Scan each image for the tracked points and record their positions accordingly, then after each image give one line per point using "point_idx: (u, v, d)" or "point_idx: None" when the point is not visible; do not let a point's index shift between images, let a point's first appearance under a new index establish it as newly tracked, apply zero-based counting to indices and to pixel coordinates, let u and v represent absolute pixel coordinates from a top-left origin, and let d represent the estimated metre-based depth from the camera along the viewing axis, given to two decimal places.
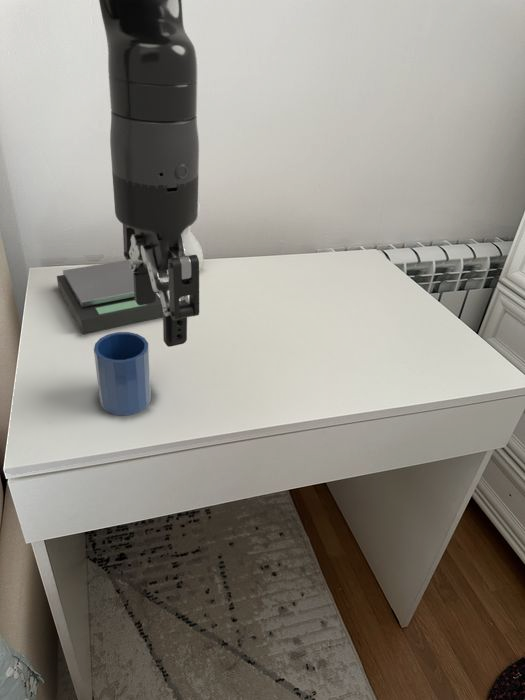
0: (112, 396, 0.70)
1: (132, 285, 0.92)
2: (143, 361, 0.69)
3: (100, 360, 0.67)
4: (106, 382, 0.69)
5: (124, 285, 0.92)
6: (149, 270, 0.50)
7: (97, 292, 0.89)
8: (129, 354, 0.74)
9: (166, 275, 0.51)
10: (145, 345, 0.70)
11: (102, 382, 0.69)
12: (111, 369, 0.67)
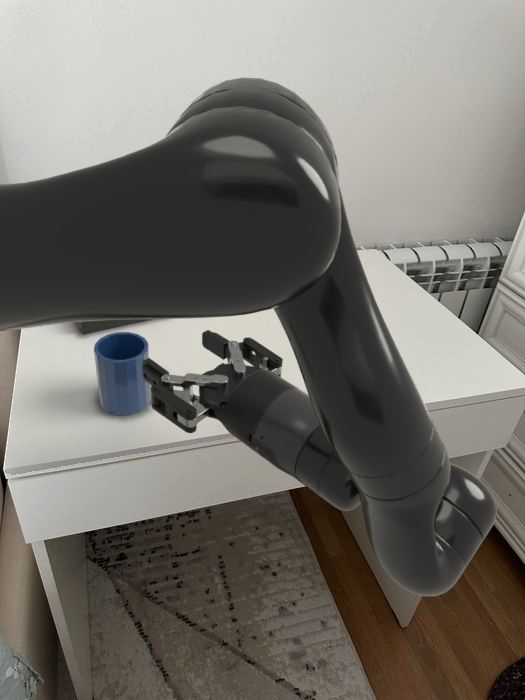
0: (112, 396, 0.70)
1: None
2: None
3: (100, 360, 0.67)
4: (106, 382, 0.69)
5: None
6: (205, 377, 0.54)
7: None
8: (129, 354, 0.74)
9: None
10: (145, 345, 0.70)
11: (102, 382, 0.69)
12: (111, 369, 0.67)
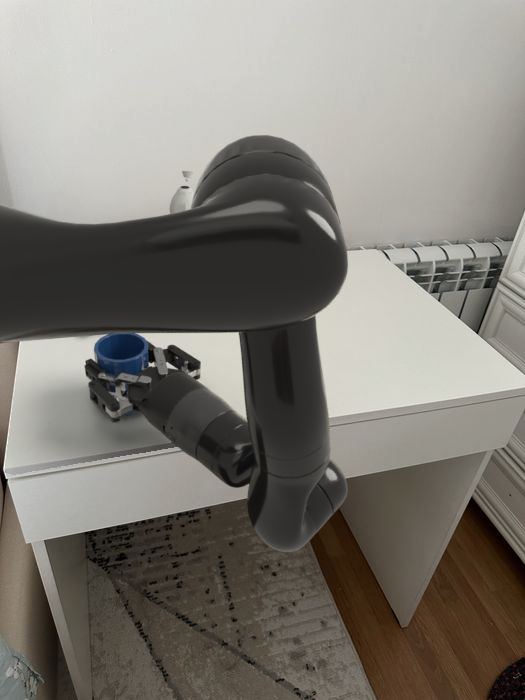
0: None
1: None
2: (143, 361, 0.69)
3: (100, 360, 0.67)
4: None
5: None
6: (133, 377, 0.66)
7: None
8: (129, 354, 0.74)
9: None
10: (145, 345, 0.70)
11: None
12: (110, 368, 0.67)
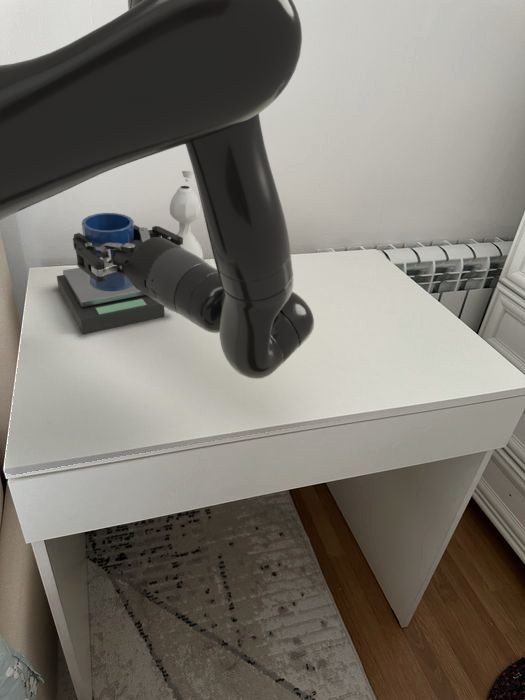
0: None
1: None
2: (128, 236, 0.73)
3: (87, 231, 0.71)
4: None
5: None
6: (118, 244, 0.70)
7: (97, 292, 0.89)
8: None
9: None
10: (130, 222, 0.74)
11: None
12: (97, 239, 0.71)
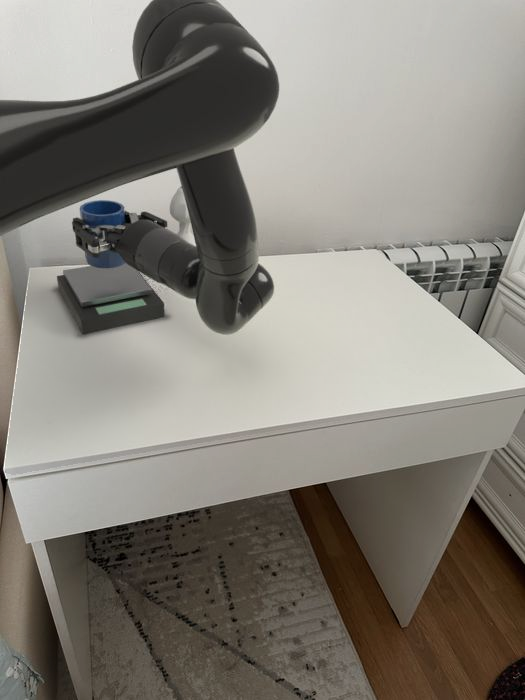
0: None
1: (132, 285, 0.92)
2: (119, 219, 0.84)
3: (84, 215, 0.83)
4: None
5: (124, 285, 0.92)
6: (110, 226, 0.81)
7: (97, 292, 0.89)
8: None
9: None
10: (122, 207, 0.85)
11: None
12: (93, 222, 0.83)
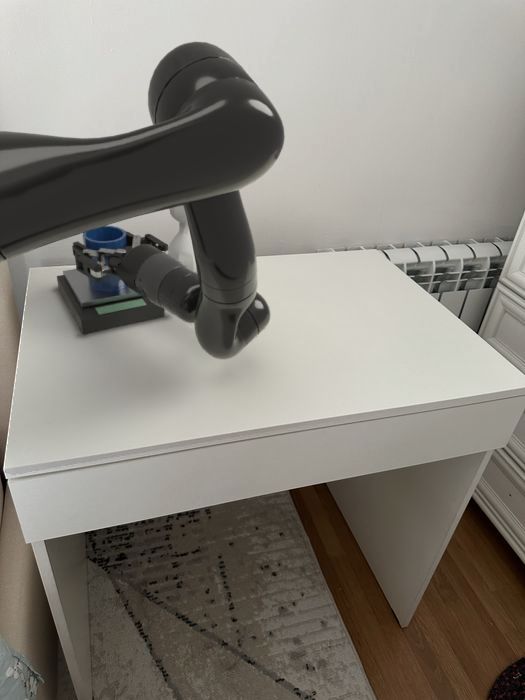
0: None
1: None
2: (121, 245, 0.87)
3: (87, 242, 0.85)
4: None
5: None
6: (111, 250, 0.83)
7: (97, 292, 0.89)
8: None
9: None
10: (123, 233, 0.88)
11: None
12: (95, 248, 0.85)
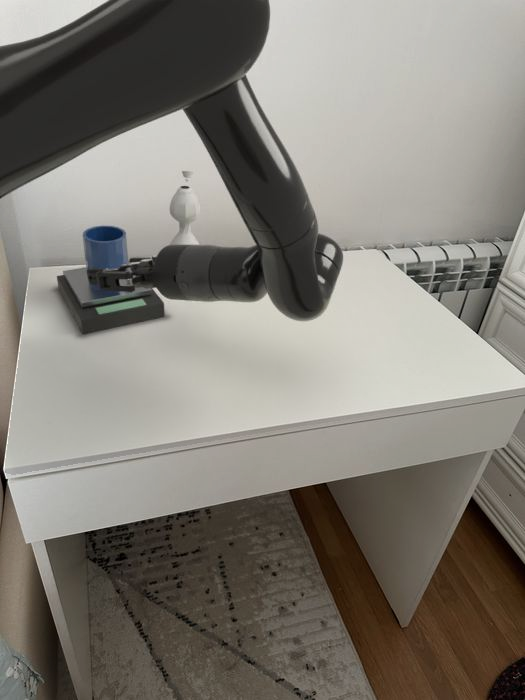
0: None
1: None
2: (121, 245, 0.87)
3: (87, 242, 0.85)
4: (92, 261, 0.87)
5: None
6: (135, 262, 0.74)
7: (97, 292, 0.89)
8: None
9: (132, 274, 0.74)
10: (123, 233, 0.88)
11: (89, 262, 0.87)
12: (95, 248, 0.85)
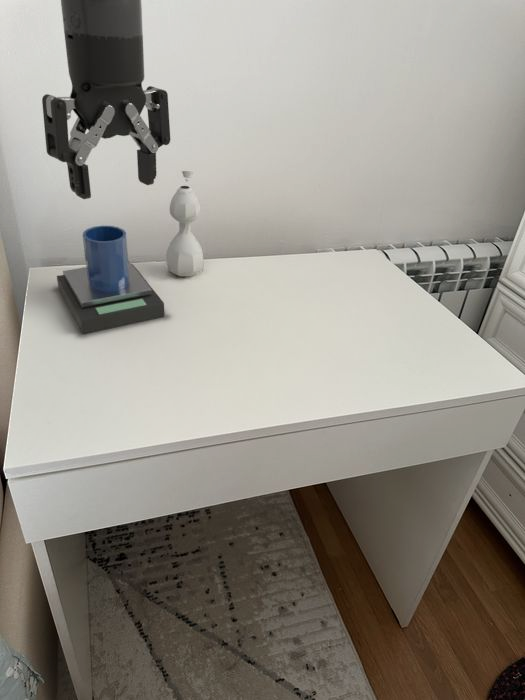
0: (97, 274, 0.88)
1: (132, 285, 0.92)
2: (121, 245, 0.87)
3: (87, 242, 0.85)
4: (92, 261, 0.87)
5: None
6: None
7: (97, 292, 0.89)
8: None
9: None
10: (123, 233, 0.88)
11: (89, 262, 0.87)
12: (95, 248, 0.85)
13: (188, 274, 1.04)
